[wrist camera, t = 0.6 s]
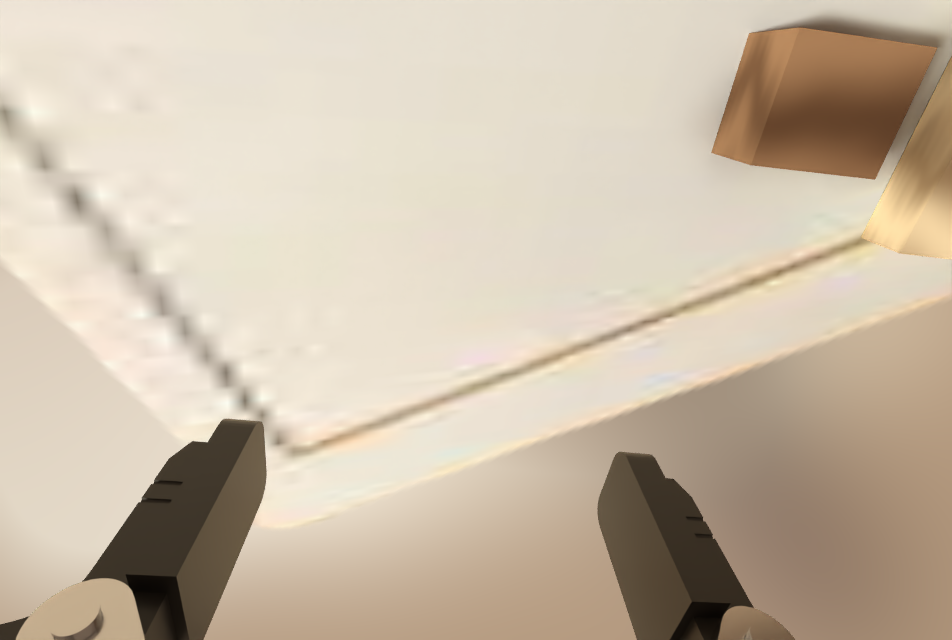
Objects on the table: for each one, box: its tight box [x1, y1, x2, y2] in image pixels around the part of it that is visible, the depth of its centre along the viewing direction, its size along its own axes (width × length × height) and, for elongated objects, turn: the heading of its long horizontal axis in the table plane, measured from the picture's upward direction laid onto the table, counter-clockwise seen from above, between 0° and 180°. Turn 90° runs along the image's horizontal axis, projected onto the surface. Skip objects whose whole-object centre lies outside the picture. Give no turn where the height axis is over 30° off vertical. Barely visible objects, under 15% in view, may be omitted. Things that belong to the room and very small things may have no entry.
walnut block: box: [711, 27, 937, 179], centre depth 30 cm, size 7×8×5 cm
